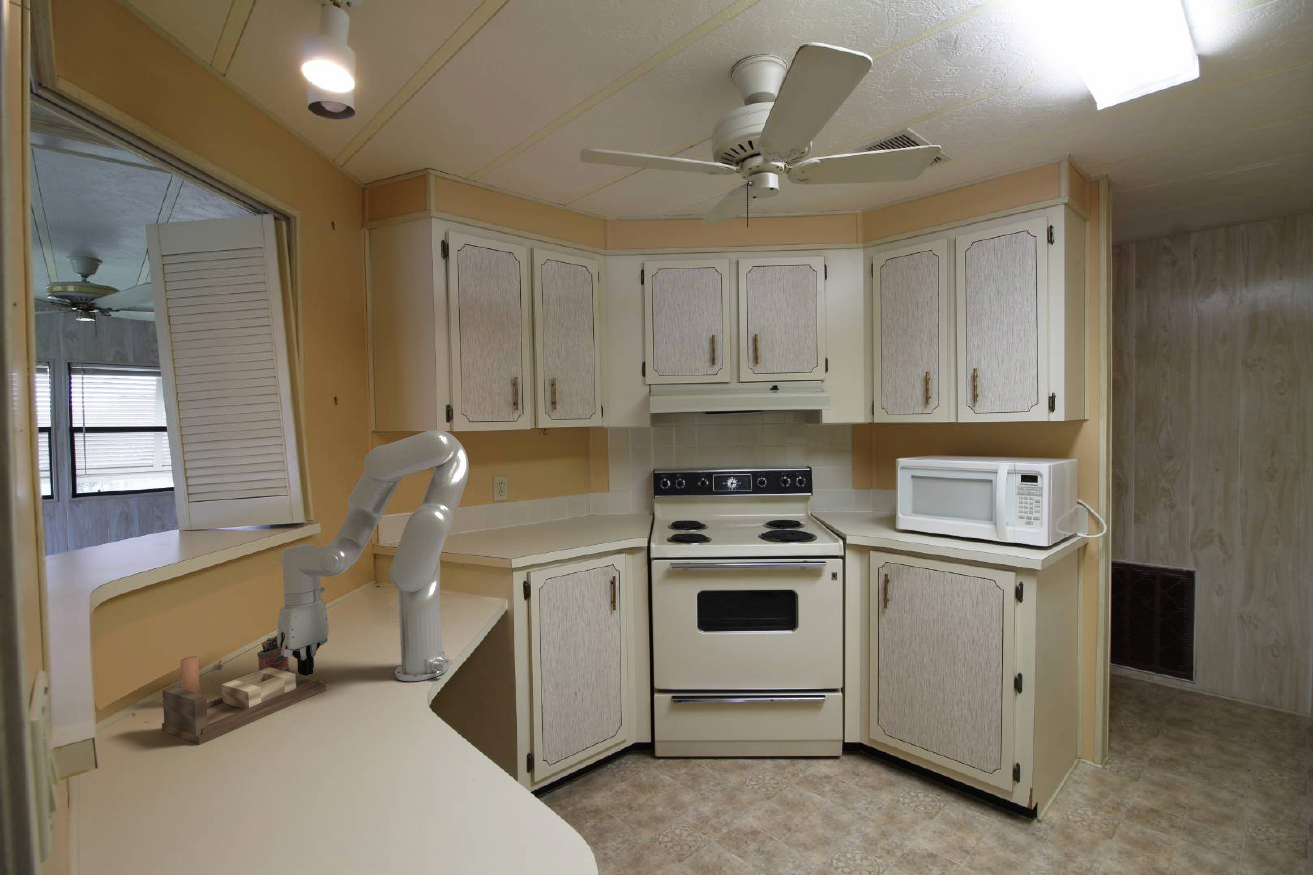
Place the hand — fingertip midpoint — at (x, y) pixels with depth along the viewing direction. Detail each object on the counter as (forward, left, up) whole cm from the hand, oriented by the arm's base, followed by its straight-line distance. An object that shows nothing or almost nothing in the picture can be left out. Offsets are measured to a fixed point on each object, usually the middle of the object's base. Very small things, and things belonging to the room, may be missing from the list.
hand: (306, 673), depth 142 cm
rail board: (0, +13, -3) cm, 13 cm away
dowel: (+16, +16, -3) cm, 23 cm away
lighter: (+12, 0, -3) cm, 12 cm away
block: (0, +11, -1) cm, 11 cm away
